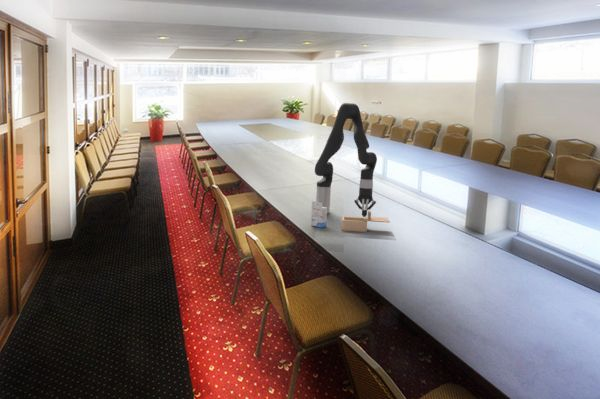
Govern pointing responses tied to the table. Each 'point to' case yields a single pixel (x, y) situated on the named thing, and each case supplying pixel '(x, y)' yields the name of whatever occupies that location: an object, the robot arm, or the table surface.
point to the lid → (375, 218)
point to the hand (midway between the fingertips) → (364, 216)
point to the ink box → (318, 215)
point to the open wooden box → (354, 224)
